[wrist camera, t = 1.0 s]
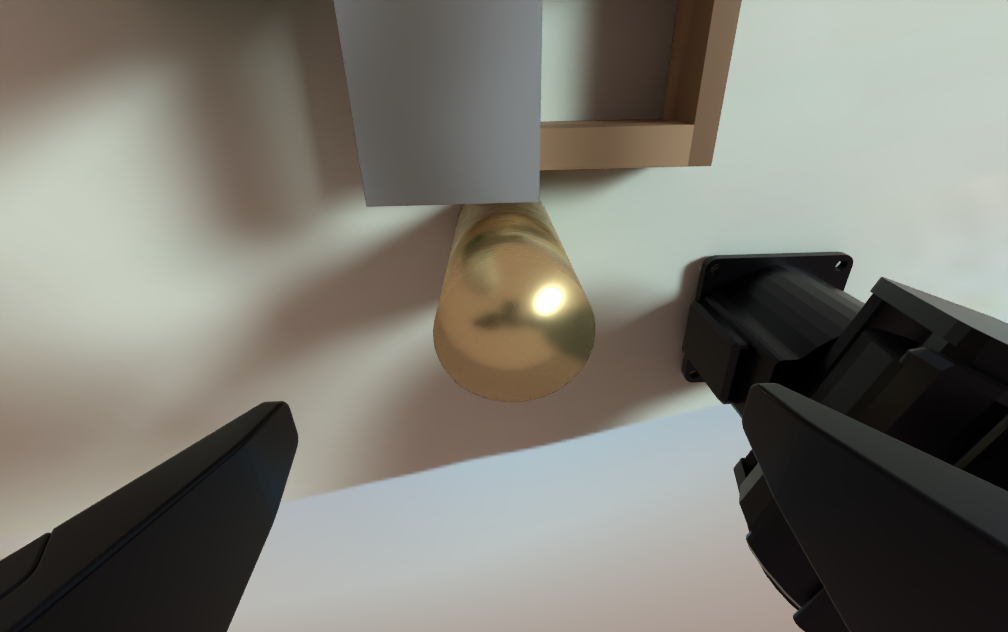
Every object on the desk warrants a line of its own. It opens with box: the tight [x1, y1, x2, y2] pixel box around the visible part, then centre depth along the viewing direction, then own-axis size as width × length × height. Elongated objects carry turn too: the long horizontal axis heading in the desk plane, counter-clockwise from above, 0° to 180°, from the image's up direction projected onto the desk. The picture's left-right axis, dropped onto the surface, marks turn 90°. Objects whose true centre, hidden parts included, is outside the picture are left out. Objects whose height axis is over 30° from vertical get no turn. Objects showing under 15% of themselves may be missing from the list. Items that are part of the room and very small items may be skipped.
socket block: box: [333, 0, 742, 207], centre depth 12 cm, size 10×8×8 cm
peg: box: [433, 200, 595, 402], centre depth 15 cm, size 4×4×9 cm
